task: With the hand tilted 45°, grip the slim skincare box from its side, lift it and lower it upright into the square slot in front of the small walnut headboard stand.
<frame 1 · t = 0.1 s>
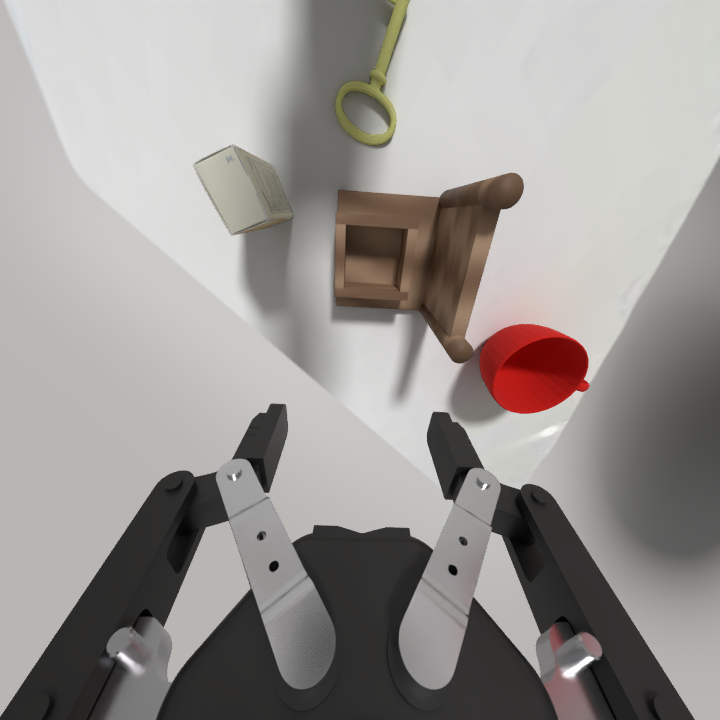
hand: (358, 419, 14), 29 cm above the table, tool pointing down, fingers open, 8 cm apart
skincare box: (270, 199, 34), on the table
key: (376, 82, 29), on the table
headboard stand: (372, 254, 37), on the table
ceramic cup: (512, 349, 46), on the table
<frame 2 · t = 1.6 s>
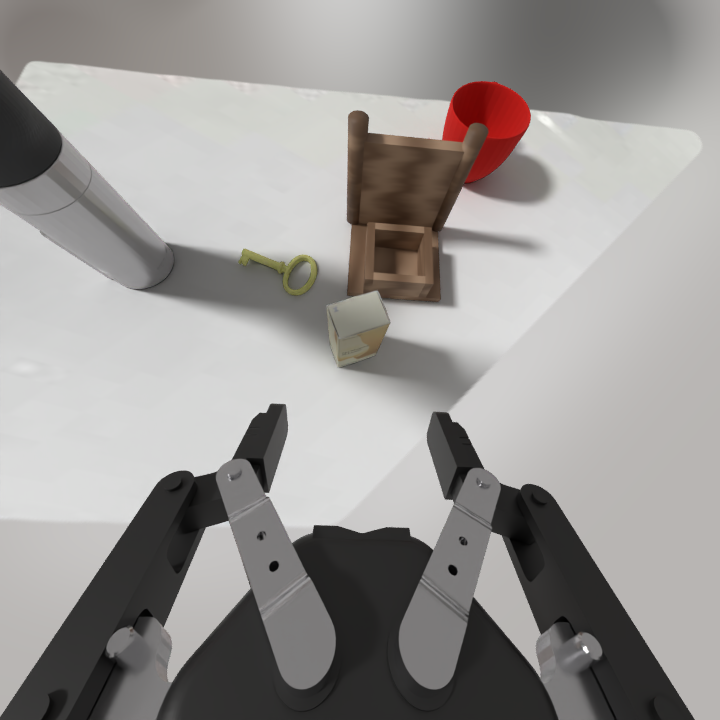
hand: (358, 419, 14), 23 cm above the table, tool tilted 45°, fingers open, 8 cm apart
skincare box: (353, 349, 40), on the table
key: (282, 272, 43), on the table
headboard stand: (393, 271, 44), on the table
ceramic cup: (464, 163, 51), on the table
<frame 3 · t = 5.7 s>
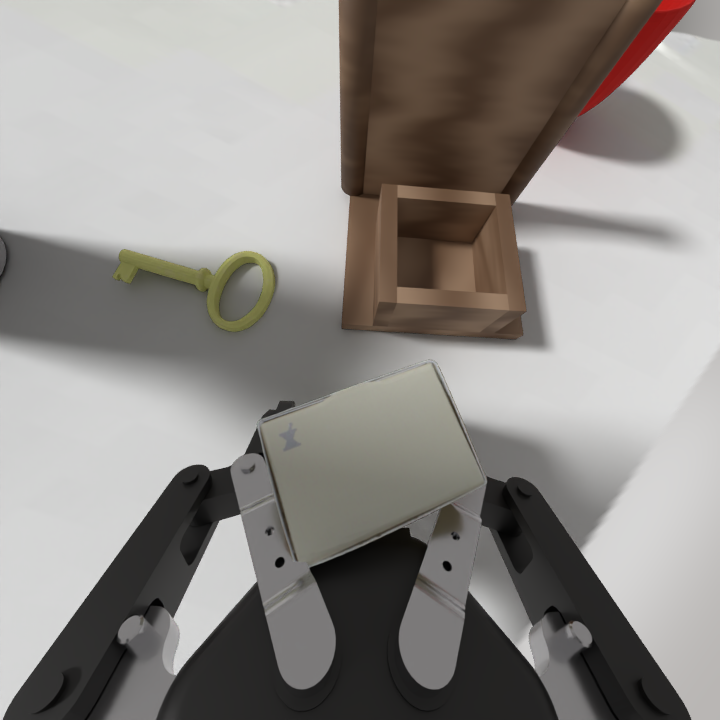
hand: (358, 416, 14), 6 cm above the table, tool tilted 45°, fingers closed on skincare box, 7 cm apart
skincare box: (354, 441, 20), on the table, touching gripper
key: (210, 288, 23), on the table
headboard stand: (428, 282, 23), on the table
ceramic cup: (535, 102, 31), on the table
when the fingers open (8 cm above the table, at t = 12.0 s): skincare box drops 1 cm, resting on headboard stand.
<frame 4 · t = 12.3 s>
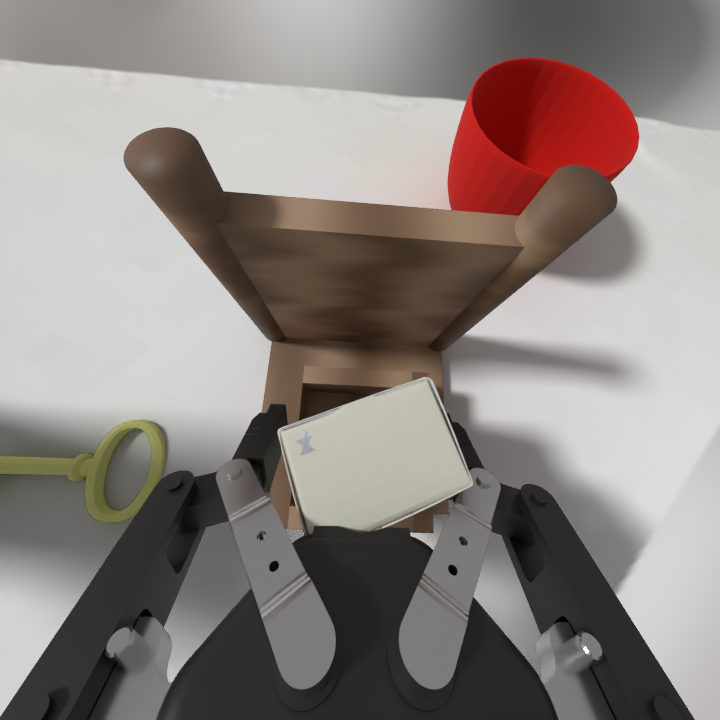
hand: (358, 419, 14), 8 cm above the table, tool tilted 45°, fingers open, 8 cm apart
skincare box: (356, 444, 21), point 1 cm above the table, touching headboard stand
key: (95, 466, 21), on the table
headboard stand: (352, 440, 22), on the table
ceramic cup: (486, 207, 30), on the table
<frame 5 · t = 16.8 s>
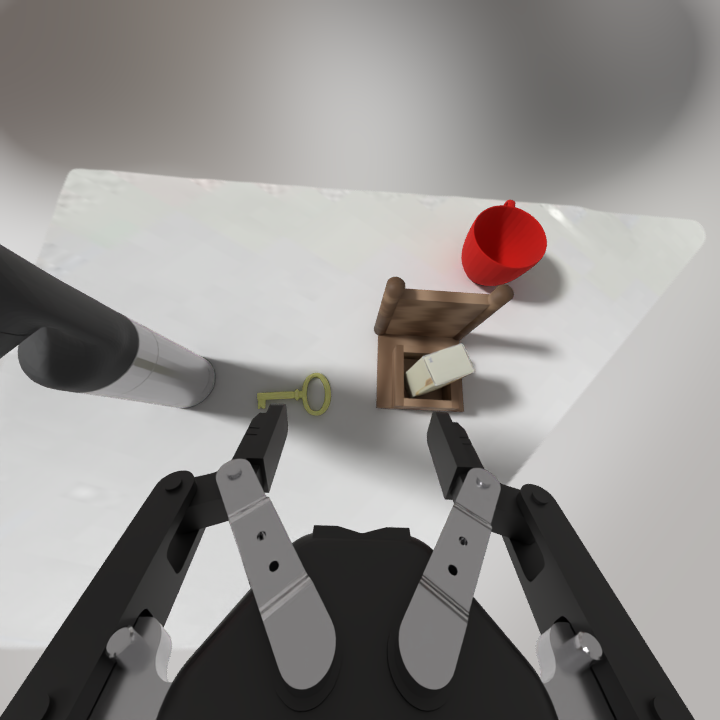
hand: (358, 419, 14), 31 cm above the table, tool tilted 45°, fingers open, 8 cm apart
skincare box: (421, 382, 46), point 1 cm above the table, touching headboard stand
key: (298, 396, 45), on the table
headboard stand: (418, 381, 47), on the table
ceramic cup: (481, 263, 54), on the table
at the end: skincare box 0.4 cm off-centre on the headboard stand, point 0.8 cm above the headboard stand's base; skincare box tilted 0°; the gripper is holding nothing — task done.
